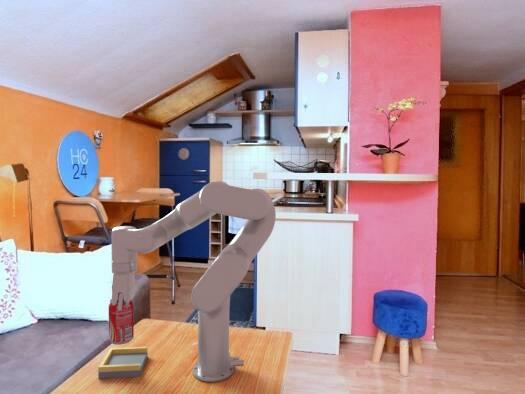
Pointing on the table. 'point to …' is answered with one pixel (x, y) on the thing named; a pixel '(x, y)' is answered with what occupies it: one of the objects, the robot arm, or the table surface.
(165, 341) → the table surface
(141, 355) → the tray
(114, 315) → the soda can
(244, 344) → the table surface
